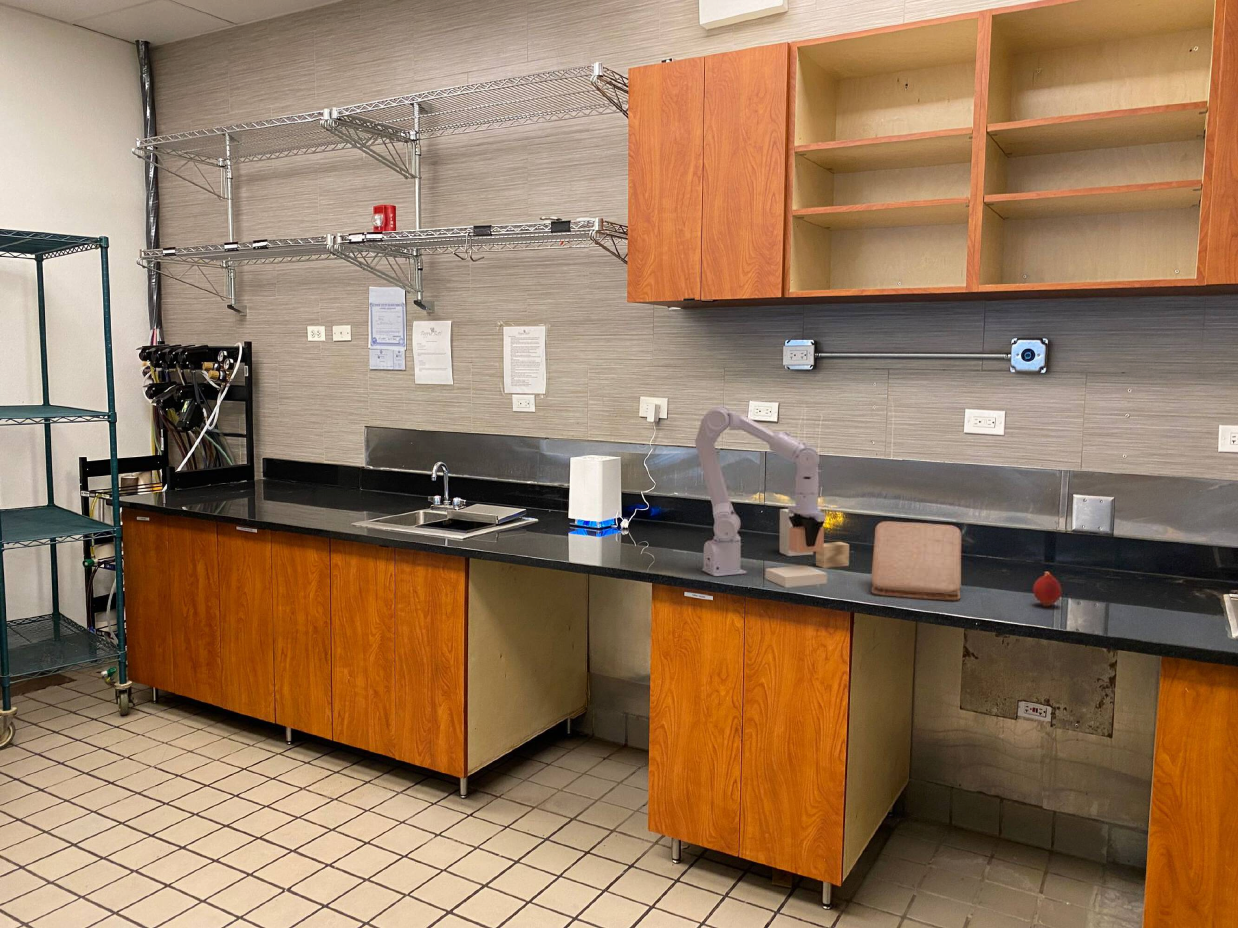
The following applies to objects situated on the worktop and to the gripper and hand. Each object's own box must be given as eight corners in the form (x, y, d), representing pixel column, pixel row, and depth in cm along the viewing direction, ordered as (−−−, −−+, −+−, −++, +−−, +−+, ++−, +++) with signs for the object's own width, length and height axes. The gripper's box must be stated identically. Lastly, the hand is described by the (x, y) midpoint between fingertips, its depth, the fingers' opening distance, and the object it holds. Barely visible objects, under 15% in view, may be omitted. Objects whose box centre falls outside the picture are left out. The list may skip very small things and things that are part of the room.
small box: (803, 550, 266) (804, 507, 265) (813, 555, 260) (814, 510, 258) (778, 552, 264) (779, 508, 263) (787, 556, 258) (788, 512, 256)
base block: (785, 588, 222) (785, 577, 222) (765, 580, 231) (765, 568, 231) (826, 584, 226) (827, 573, 226) (805, 576, 235) (805, 565, 235)
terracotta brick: (797, 552, 230) (797, 530, 229) (788, 549, 234) (789, 527, 233) (823, 550, 233) (824, 527, 232) (814, 547, 236) (815, 525, 236)
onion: (1052, 602, 206) (1054, 568, 206) (1065, 609, 201) (1067, 574, 200) (1027, 602, 206) (1029, 568, 205) (1040, 609, 201) (1042, 574, 200)
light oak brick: (823, 568, 243) (824, 546, 243) (815, 565, 247) (816, 543, 246) (848, 565, 246) (849, 544, 245) (840, 562, 250) (840, 541, 249)
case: (869, 596, 214) (871, 530, 212) (875, 576, 233) (877, 516, 231) (960, 604, 207) (963, 536, 205) (959, 583, 226) (962, 521, 225)
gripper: (836, 495, 226) (835, 548, 228) (804, 488, 240) (803, 538, 241) (812, 497, 224) (811, 550, 225) (781, 489, 237) (780, 540, 239)
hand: (805, 544), depth 233 cm, fingers closed on terracotta brick, 4 cm apart
